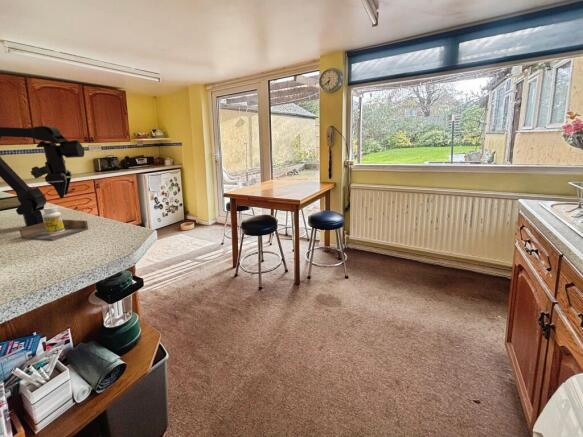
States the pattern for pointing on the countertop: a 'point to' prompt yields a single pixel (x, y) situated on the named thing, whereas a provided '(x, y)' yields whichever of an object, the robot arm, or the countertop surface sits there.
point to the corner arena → (41, 234)
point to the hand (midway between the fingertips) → (63, 196)
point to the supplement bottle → (53, 220)
